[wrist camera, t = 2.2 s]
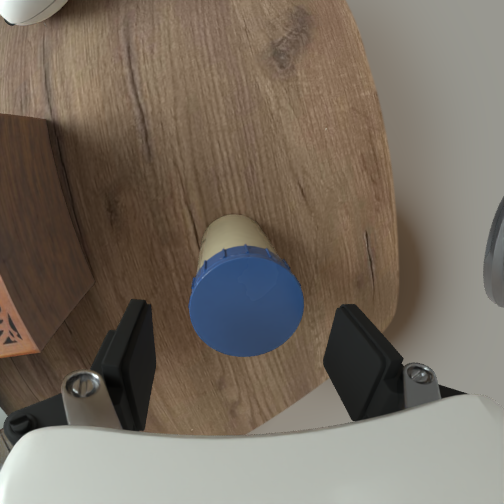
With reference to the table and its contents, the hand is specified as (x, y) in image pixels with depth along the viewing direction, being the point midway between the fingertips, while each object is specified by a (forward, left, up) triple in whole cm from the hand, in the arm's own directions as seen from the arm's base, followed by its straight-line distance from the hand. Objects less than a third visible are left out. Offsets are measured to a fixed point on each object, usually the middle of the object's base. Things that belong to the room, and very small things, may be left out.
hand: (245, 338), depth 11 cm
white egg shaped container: (+26, -9, -12) cm, 30 cm away
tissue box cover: (+22, +14, -12) cm, 29 cm away
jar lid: (0, 0, -2) cm, 2 cm away
